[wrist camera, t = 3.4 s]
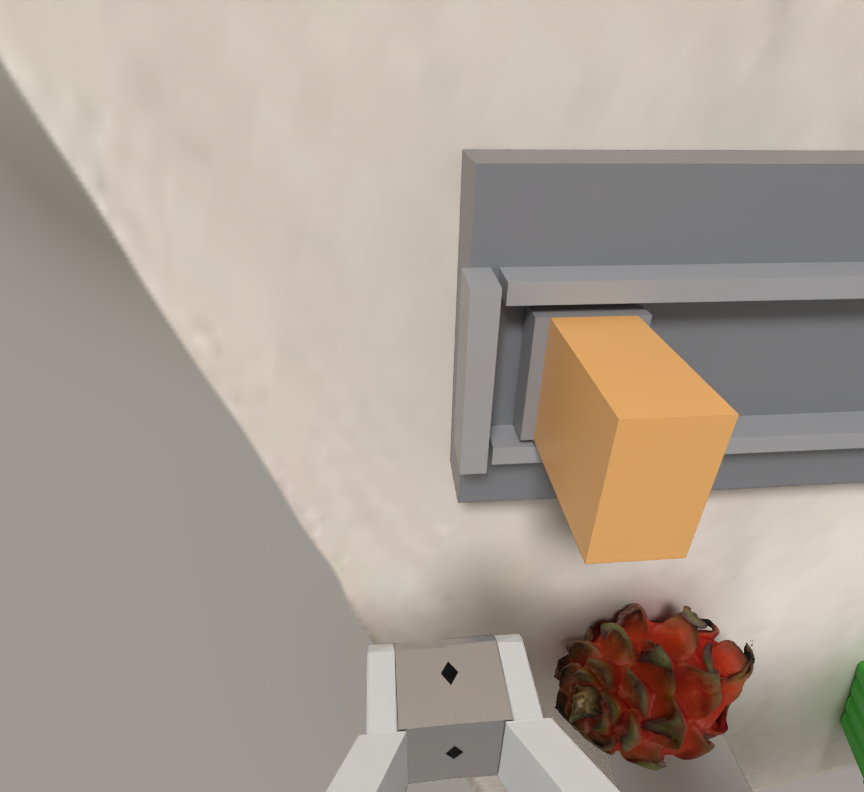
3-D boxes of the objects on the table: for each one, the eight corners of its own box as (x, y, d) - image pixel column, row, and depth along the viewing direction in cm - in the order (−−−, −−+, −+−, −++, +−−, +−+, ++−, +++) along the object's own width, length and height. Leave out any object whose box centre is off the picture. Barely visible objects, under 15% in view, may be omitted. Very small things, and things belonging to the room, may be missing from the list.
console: (454, 149, 19) (476, 175, 15) (1167, 151, 22) (1359, 174, 17) (444, 460, 27) (457, 536, 22) (977, 437, 29) (1080, 501, 25)
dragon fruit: (517, 616, 36) (681, 560, 37) (555, 744, 36) (721, 683, 37) (555, 668, 28) (766, 593, 29) (607, 837, 27) (819, 754, 28)
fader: (526, 302, 19) (598, 420, 13) (636, 300, 19) (758, 413, 13) (513, 421, 22) (568, 565, 16) (610, 417, 22) (702, 556, 16)
